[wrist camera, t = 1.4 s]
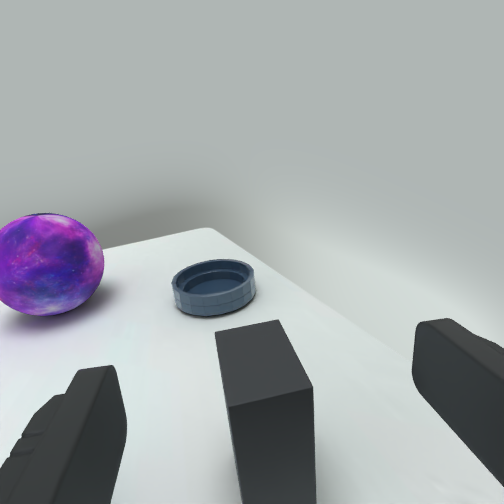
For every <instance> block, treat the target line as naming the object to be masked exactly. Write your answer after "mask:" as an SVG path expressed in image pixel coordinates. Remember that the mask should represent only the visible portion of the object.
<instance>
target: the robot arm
mask: <svg viewBox="0 0 504 504" xmlns="http://www.w3.org/2000/svg"><path fill="white" fill-rule="evenodd" d="M412 377H413V381H414V383H415V386H416V388H417V390H418V391H419V393H420V394H421V395H422V396H423V398H424V399H425V400H426V401H427V402H428V403H429V404H430V405H431V406H432V408H433V409H434V410H435V411H436V412H437V413H438V414H439V415H440V416H441V418H442V419H443V420H444V421H445V422H446V423H447V424H448V425H449V427H450V428H451V429H452V430H453V431H454V432H455V433H456V434H457V435H458V437H459V438H460V439H461V440H462V441H463V442H464V443H465V444H466V445H467V447H468V448H469V449H470V450H471V451H472V452H473V453H474V454H475V455H476V457H477V458H478V459H479V460H480V461H481V462H482V463H483V464H484V466H485V467H486V468H487V469H488V470H489V471H490V472H491V473H492V474H493V476H494V477H495V478H496V479H497V480H498V481H499V482H500V483H501V484H502V486H503V487H504V348H502V347H500V346H499V345H498V344H496V343H494V342H491V341H489V340H487V339H484V338H482V337H479V336H477V335H475V334H473V333H471V332H470V331H468V330H467V329H466V328H464V327H462V326H461V325H459V324H458V323H457V322H455V321H454V320H452V319H449V318H444V319H438V320H431V321H423V322H420V323H419V324H418V325H417V327H416V332H415V342H414V352H413V363H412ZM126 436H127V419H126V413H125V408H124V404H123V399H122V395H121V390H120V386H119V382H118V377H117V373H116V370H115V368H114V366H113V365H108V366H101V367H94V368H87V369H80V370H78V371H77V373H76V374H75V376H74V378H73V380H72V382H71V383H70V385H69V387H68V389H67V391H66V393H65V394H60V395H54V396H53V397H52V398H51V399H50V400H49V401H48V402H47V403H46V404H45V405H43V406H42V407H41V408H40V409H39V410H38V411H37V412H36V413H35V414H34V415H33V417H32V418H31V420H30V422H29V423H28V425H27V427H26V428H25V430H24V431H23V433H22V437H21V439H18V441H17V443H16V444H15V446H14V447H13V449H12V451H11V452H10V457H8V458H7V459H6V460H5V462H4V463H3V465H2V467H1V468H0V504H110V503H111V499H112V495H113V491H114V487H115V483H116V479H117V475H118V471H119V467H120V463H121V459H122V455H123V451H124V447H125V443H126Z"/></svg>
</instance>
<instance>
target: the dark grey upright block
mask: <svg viewBox="0 0 504 504" xmlns="http://www.w3.org/2000/svg"><path fill="white" fill-rule="evenodd" d="M215 339H216V346H217V352H218V358H219V364H220V370H221V377H222V383H223V389H224V395H225V402H226V408H227V414H228V420H229V427H230V433H231V439H232V445H233V451H234V457H235V463H236V469H237V475H238V481H239V487H240V493H241V498H242V504H316V475H315V437H314V400H313V386H312V384H311V382H310V380H309V378H308V376H307V374H306V372H305V370H304V368H303V366H302V364H301V362H300V360H299V358H298V356H297V354H296V353H295V351H294V349H293V347H292V345H291V343H290V341H289V339H288V337H287V335H286V333H285V331H284V329H283V327H282V325H281V323H280V321H279V320H273V321H268V322H263V323H258V324H253V325H248V326H243V327H238V328H233V329H228V330H223V331H218V332H215Z"/></svg>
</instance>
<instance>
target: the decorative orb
mask: <svg viewBox="0 0 504 504" xmlns="http://www.w3.org/2000/svg"><path fill="white" fill-rule="evenodd" d="M103 271H104V256H103V251H102V248H101V246H100V244H99V242H98V240H97V238H96V237H95V236H94V234H93V233H92V232H91V231H90V230H89V229H88V228H87V227H85V226H84V225H83V224H81V223H80V222H78V221H76V220H74V219H71V218H69V217H66V216H63V215H59V214H52V213H38V214H32V215H28V216H24V217H21V218H18V219H16V220H14V221H12V222H10V223H9V224H7V225H6V226H4V227H3V228H2V229H1V230H0V300H1V301H2V302H3V303H4V304H6V305H7V306H9V307H11V308H12V309H15V310H17V311H19V312H22V313H26V314H30V315H39V316H47V315H56V314H60V313H64V312H67V311H69V310H72V309H74V308H76V307H77V306H79V305H81V304H82V303H83V302H85V301H86V300H87V299H88V298H89V297H90V296H91V295H92V294H93V293H94V291H95V290H96V289H97V287H98V285H99V283H100V281H101V279H102V275H103Z"/></svg>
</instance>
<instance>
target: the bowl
mask: <svg viewBox="0 0 504 504" xmlns="http://www.w3.org/2000/svg"><path fill="white" fill-rule="evenodd" d="M171 284H172V288H173V293H174V298H175V302H176V306H177V307H178V308H180V309H181V310H182V311H183V312H186V313H189V314H192V315H201V316H210V315H219V314H223V313H227V312H231V311H234V310H236V309H238V308H240V307H242V306H244V305H245V304H247V303H248V302H249V301H250V300H251V299H252V298H253V296H254V294H255V293H256V291H255V280H254V270H253V268H252V267H251V266H250V265H249V264H247V263H244V262H242V261H238V260H232V259H217V260H209V261H204V262H200V263H197V264H194V265H191V266H189V267H187V268H185V269H183V270H181V271H180V272H178V273H177V274H176V275H175V276H174V278H173V280H172V283H171Z"/></svg>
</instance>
